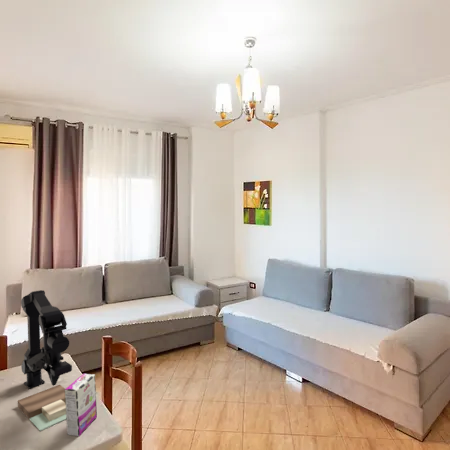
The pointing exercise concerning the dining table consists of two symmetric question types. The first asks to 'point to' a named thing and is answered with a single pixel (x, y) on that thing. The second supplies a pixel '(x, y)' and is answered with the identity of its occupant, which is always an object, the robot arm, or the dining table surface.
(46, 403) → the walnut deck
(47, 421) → the sage mat
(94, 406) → the candy bar box
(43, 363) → the robot arm
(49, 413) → the birch block
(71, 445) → the dining table surface
